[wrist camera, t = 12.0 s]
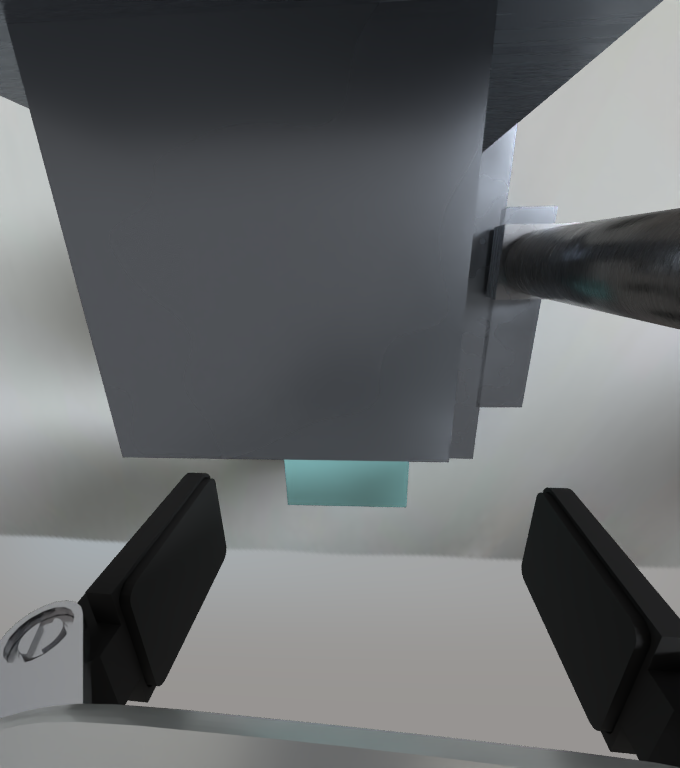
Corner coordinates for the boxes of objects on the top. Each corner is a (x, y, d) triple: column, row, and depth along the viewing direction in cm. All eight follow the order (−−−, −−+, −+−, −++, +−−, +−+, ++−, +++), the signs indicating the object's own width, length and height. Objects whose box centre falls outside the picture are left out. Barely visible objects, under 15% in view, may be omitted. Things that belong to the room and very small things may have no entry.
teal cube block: (398, 358, 17) (412, 396, 13) (394, 445, 19) (406, 507, 15) (300, 359, 18) (278, 396, 13) (305, 444, 19) (287, 504, 15)
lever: (565, 225, 15) (919, 171, 6) (551, 295, 16) (830, 353, 7) (494, 226, 15) (721, 177, 6) (485, 296, 16) (664, 354, 7)
